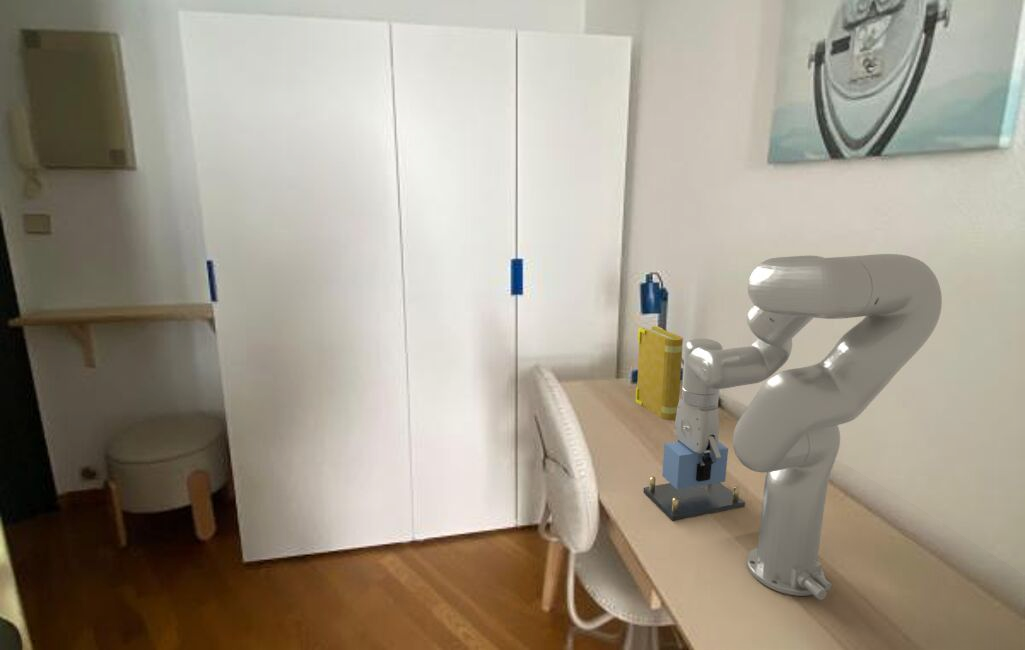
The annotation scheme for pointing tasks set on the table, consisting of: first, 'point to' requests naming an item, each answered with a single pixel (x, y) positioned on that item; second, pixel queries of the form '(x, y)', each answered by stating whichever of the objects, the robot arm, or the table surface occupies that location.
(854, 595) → the table surface
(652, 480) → the dowel plate
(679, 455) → the blue block
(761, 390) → the robot arm
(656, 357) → the book
